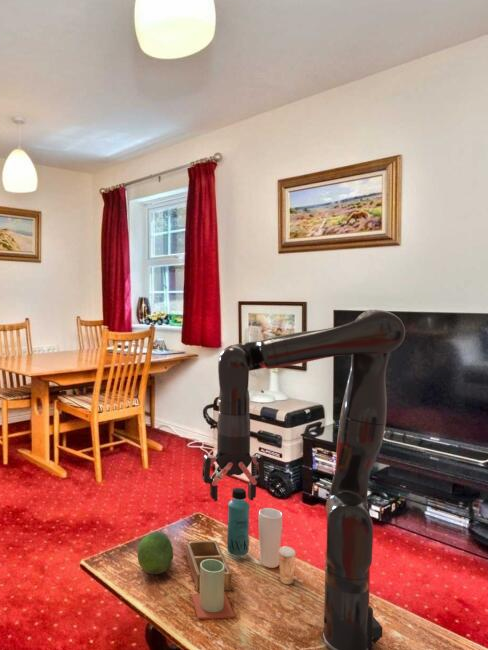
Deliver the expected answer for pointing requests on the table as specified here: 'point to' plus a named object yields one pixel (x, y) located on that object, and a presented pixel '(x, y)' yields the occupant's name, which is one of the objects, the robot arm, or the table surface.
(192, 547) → the brown wooden shelf
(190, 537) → the table surface
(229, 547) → the beverage bottle
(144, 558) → the fruit
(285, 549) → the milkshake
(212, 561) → the cup
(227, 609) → the coaster mat
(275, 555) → the drinking glass
